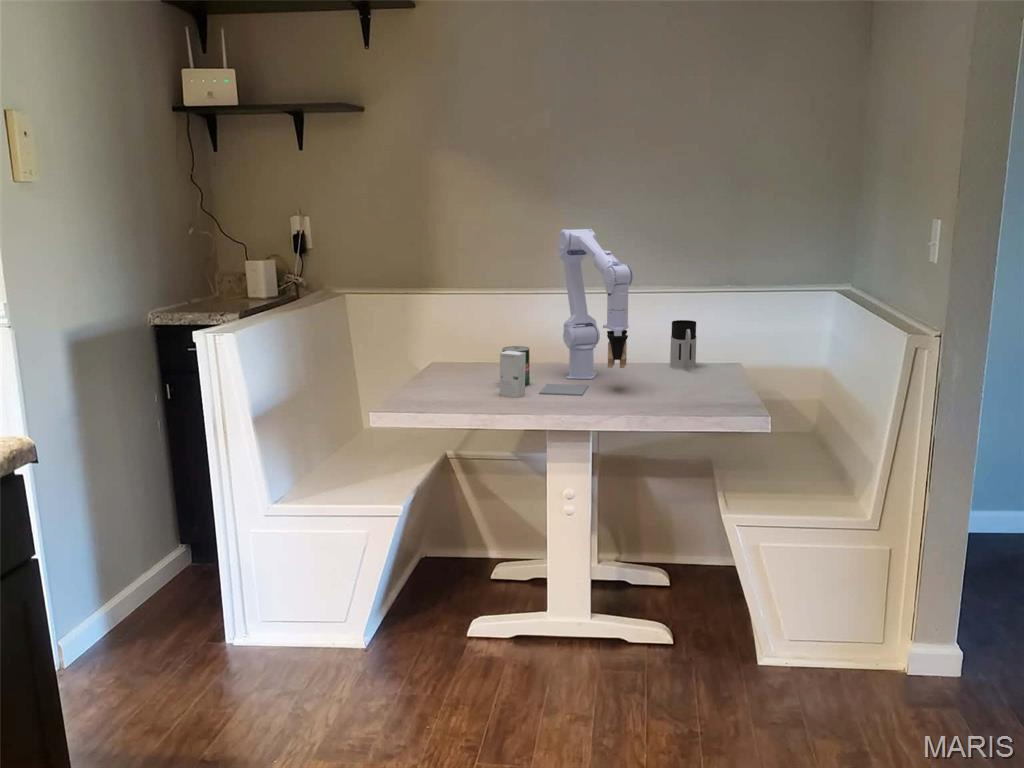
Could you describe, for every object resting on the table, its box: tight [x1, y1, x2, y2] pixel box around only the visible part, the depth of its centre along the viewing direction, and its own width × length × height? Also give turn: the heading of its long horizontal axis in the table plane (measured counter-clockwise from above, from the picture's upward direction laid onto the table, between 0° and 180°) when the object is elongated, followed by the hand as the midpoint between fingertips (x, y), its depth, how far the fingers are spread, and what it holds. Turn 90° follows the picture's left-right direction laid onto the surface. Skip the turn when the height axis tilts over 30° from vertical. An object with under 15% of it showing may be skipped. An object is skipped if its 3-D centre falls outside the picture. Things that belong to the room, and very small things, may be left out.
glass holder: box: [669, 319, 697, 371], centre depth 265 cm, size 9×14×15 cm, turn 179°
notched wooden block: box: [607, 340, 628, 369], centre depth 237 cm, size 4×4×7 cm
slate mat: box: [538, 383, 589, 397], centre depth 240 cm, size 12×12×1 cm
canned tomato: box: [501, 345, 531, 388], centre depth 247 cm, size 8×8×11 cm
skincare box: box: [499, 351, 526, 399], centre depth 234 cm, size 6×4×12 cm
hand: (616, 357), depth 238 cm, fingers closed on notched wooden block, 5 cm apart
